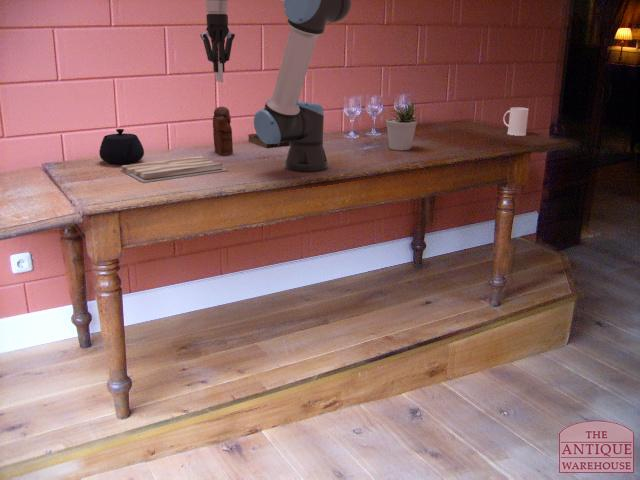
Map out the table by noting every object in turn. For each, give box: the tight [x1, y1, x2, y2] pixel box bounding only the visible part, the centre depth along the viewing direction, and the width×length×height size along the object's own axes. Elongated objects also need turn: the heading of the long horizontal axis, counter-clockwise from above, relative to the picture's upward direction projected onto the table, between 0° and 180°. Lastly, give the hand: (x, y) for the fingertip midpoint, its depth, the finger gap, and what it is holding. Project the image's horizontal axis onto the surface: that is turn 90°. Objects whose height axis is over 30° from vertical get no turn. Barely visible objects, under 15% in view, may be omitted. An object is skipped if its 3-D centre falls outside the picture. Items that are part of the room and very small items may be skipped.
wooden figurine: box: [212, 106, 234, 157], centre depth 256 cm, size 12×6×18 cm, turn 25°
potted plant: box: [385, 100, 420, 152], centre depth 268 cm, size 13×14×20 cm
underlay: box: [120, 167, 229, 184], centre depth 229 cm, size 20×31×1 cm, turn 126°
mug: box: [502, 106, 530, 137], centre depth 307 cm, size 12×8×12 cm
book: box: [247, 133, 290, 149], centre depth 282 cm, size 17×4×25 cm
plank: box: [133, 159, 223, 179], centre depth 226 cm, size 11×28×2 cm, turn 126°
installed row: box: [121, 155, 210, 174], centre depth 234 cm, size 7×30×1 cm, turn 126°
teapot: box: [98, 128, 145, 166], centre depth 238 cm, size 25×16×12 cm, turn 34°
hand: (219, 81), depth 241 cm, fingers closed
